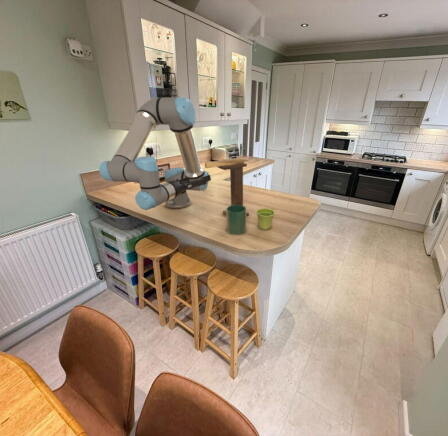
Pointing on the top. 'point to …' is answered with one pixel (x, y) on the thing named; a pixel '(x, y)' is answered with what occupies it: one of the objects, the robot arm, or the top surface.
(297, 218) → the top surface
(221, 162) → the stick
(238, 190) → the brown wooden stand
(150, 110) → the robot arm
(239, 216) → the utensil pot
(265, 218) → the plant pot
